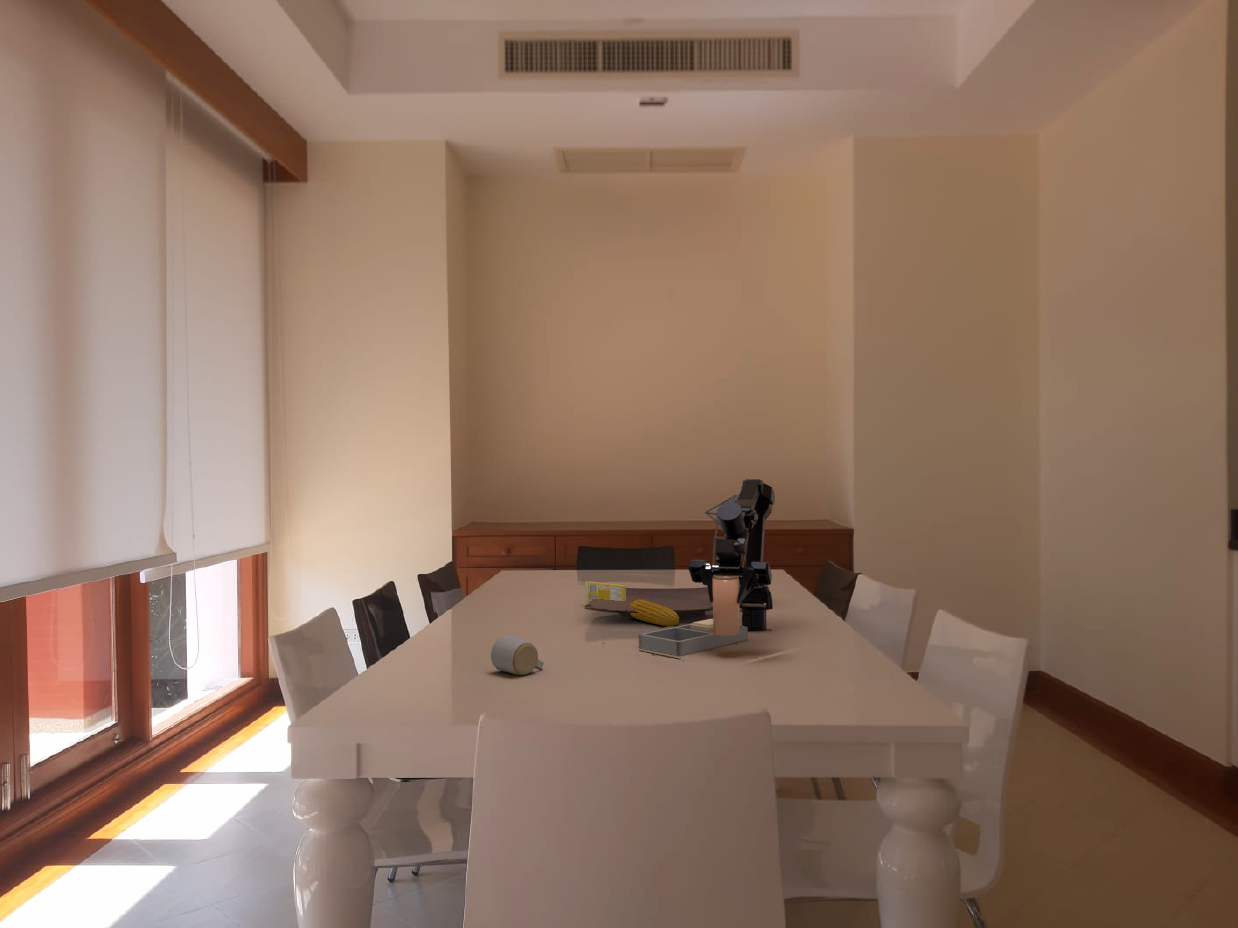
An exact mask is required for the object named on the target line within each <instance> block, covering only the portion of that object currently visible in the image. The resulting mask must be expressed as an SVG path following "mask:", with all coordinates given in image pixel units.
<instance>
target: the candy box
mask: <svg viewBox="0 0 1238 928" xmlns="http://www.w3.org/2000/svg"><path fill="white" fill-rule="evenodd" d="M584 584H585V585H584V593H585V594H584V606H585V605H586V604H588V603H589V602H591V601H592V599H604V600H615V601H626V602H627V595H626V594H627V585H626V584H625V585H624V584H616V583H605V582H599V581H598V582H597V581H590V580H589V581H585V583H584Z"/></svg>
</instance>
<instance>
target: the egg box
mask: <svg viewBox="0 0 1238 928" xmlns="http://www.w3.org/2000/svg"><path fill="white" fill-rule="evenodd" d="M692 623H693V624H692ZM692 623H690V624H691V625H690V630H696V631H702V632H708V633H713V618H707V619H703V620H699V621H694V622H693V621H692Z"/></svg>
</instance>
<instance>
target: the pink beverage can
mask: <svg viewBox="0 0 1238 928" xmlns="http://www.w3.org/2000/svg"><path fill="white" fill-rule="evenodd" d="M738 593H739V578H738V577H737V575H732V574H720V575H714V578H713V601H712V619H713V633H714V634H716V635H724V636H731V635H738V634H740V626H741V623H740V621H741V618H740V615H741V613H740V612H741V611H740V610H741V609H740V605H739V604H738V602H737V600H738Z"/></svg>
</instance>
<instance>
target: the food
mask: <svg viewBox="0 0 1238 928" xmlns="http://www.w3.org/2000/svg"><path fill="white" fill-rule="evenodd" d="M629 607H630V608H631V609H633V610H635V611H636V612H638V613H630V612H629V613H630V615H631V616H632V618H635V619H637V620H638V621H642V622H645V623H648V624H653V625H656V626H657V625H658V626H662V627H668V628H670V627H677V626H679V625H678V624H679V623H680V622H679V621H680V617H679V615H678V614H677V612H676V611H674V610H673V609H671V608H669V607H666V606H663V605H660V604H658V603H656V602H652V601H649V600H644V599H635V600H634V601H632V602H631V603H630V605H629Z"/></svg>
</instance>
